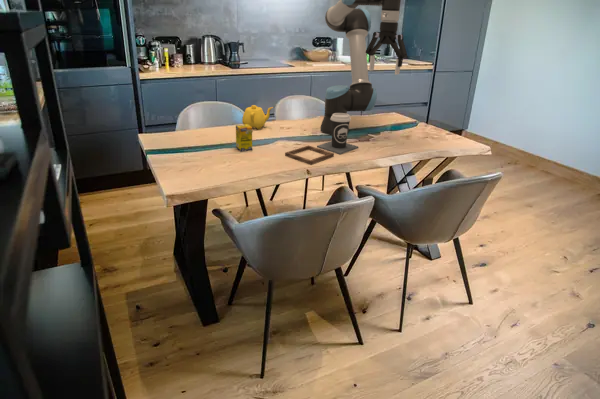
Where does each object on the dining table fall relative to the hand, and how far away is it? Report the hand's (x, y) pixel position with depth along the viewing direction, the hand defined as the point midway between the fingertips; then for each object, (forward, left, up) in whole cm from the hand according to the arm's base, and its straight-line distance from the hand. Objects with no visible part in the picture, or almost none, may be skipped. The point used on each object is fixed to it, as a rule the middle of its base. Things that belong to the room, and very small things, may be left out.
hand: (383, 72), depth 196 cm
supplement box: (-39, -50, -35) cm, 72 cm away
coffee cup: (-11, -16, -34) cm, 39 cm away
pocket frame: (-12, -35, -35) cm, 51 cm away
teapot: (-62, -21, -35) cm, 74 cm away
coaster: (-11, -16, -35) cm, 40 cm away
